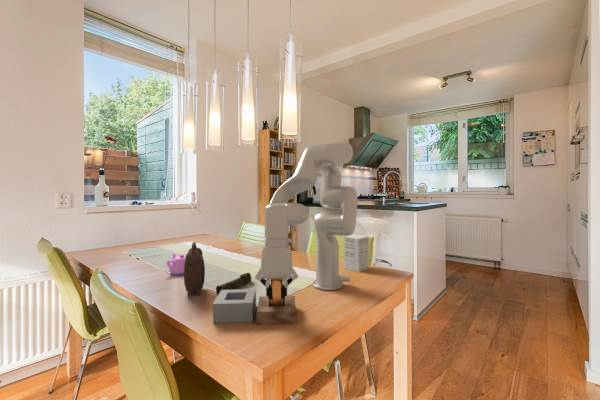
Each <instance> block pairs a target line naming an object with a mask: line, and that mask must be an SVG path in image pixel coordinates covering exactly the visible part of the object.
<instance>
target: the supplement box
mask: <svg viewBox="0 0 600 400" xmlns="http://www.w3.org/2000/svg"><path fill="white" fill-rule="evenodd" d="M343 243H344V247H343V250H344V251H343V252H344V253H343V254H344V255H343V256H344V257H343V263H344V264H343V265H344V268H343V269H345V270H347V271H348V270H349V271H353V272H356V273H360V272H363V271H366V270H369V268H370V236H367V235H361V234H352V235H350V236H344V237H343Z"/></svg>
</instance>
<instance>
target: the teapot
mask: <svg viewBox="0 0 600 400" xmlns="http://www.w3.org/2000/svg"><path fill="white" fill-rule="evenodd" d="M185 257H186V255H185V254H184V253H183V254H179V255H178V256H177V255H176V253H174V252H172V260H171V259H168V260H167V261H166V265H167V267H168V269H169V270H168V271H169V273H171V275H175V276H183V275H182V274H184V264H185Z"/></svg>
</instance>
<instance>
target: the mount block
mask: <svg viewBox="0 0 600 400" xmlns="http://www.w3.org/2000/svg"><path fill="white" fill-rule="evenodd" d="M295 297H296V296H295V295H287V296H285V300H283V306H282V307H271V300H268V297H266V296H259V298H258V304H257V308H256V325H257V326H261V325H262V326H263V325H264V326H265V325H290V324H291V325H293V324H295V325H296V324H297V309H296V308H297V307H296V299H295Z"/></svg>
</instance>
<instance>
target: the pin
mask: <svg viewBox="0 0 600 400" xmlns="http://www.w3.org/2000/svg"><path fill="white" fill-rule="evenodd" d="M283 283H284V282H283V278H271V279H270V286H271V307H282V306H283Z"/></svg>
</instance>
